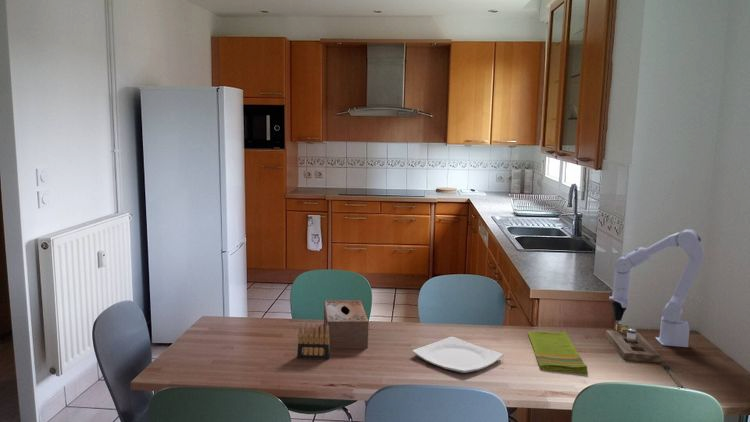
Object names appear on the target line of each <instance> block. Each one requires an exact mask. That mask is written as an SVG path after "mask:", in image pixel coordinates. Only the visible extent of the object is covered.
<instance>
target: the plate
mask: <svg viewBox="0 0 750 422" xmlns="http://www.w3.org/2000/svg"><path fill="white" fill-rule="evenodd" d="M411 352H412V353H413V354H414V355H415V356H417V357H419V358H420V359H421V360H424V361H426V362H427V363H430V364H432V365H435V366H438V367H440V368H442V369H446V370H449V371H453V372H458V373H461V374H466V373H472V372H476V371H479V370H483V369H485V368H487V367H489V366H491V365H494V363H496V362H497V361H498V360H499V359H501V358H502V357H503V356H504V353H502V352H499V351H496V350H495V351H494V350H492V349H488V348H485V347H483V346H478V345H477V344H474V343H471V342H468V341H465V340H464V339H460V338H457V337H455V336H449V337H446V338H443V339H441V340H438V341H435V342H432V343H430V344H427V345H424V346H421V347H418V348H414V349H412V350H411Z"/></svg>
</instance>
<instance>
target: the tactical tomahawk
mask: <svg viewBox="0 0 750 422" xmlns="http://www.w3.org/2000/svg"><path fill="white" fill-rule="evenodd" d="M663 366H664V368H665V369H664V370H665V371H666V372H667V373H668V375H669V376H670V377H671V379H672V380H673V382H675V384H676V385H677V386H678V387H677V388H679V387H681V388H685V387H684V385H683V384H682V382H681V381H680V380H679V378H678V377H677V376H676V375H675V373H674V371H672V369H671V365H669V364H666V363H664V364H663Z"/></svg>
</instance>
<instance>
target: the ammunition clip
mask: <svg viewBox="0 0 750 422" xmlns="http://www.w3.org/2000/svg"><path fill="white" fill-rule="evenodd" d="M307 323H308V322H306V323H305V325H304V331H303V323H302V322H300V323H299V327H298V333H297V334H298V335H297V354H296V359H307V360H308V359H309V360H310V359H311V360H330V348H329V326H328V324H327V325H326V329H325V330H324V323H321V324H320V328H319V324H318V323H316V324H315V326H314V325H313V323H310V326H309V327H308V324H307Z"/></svg>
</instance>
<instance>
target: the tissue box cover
mask: <svg viewBox="0 0 750 422" xmlns="http://www.w3.org/2000/svg"><path fill="white" fill-rule="evenodd" d="M323 306H324V307H323V327H324V331H325V329H326V325H327V324H328V326H329V349H368V347H369V319H368V316H367V313H366V310H365V307H364V305H363V303H362V300H361V299H360V300H359V299H358V300H356V299H355V300H353V299H352V300H350V299H348V300H347V299H346V300H339V299H337V300H333V299H329V300H324V304H323Z"/></svg>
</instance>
